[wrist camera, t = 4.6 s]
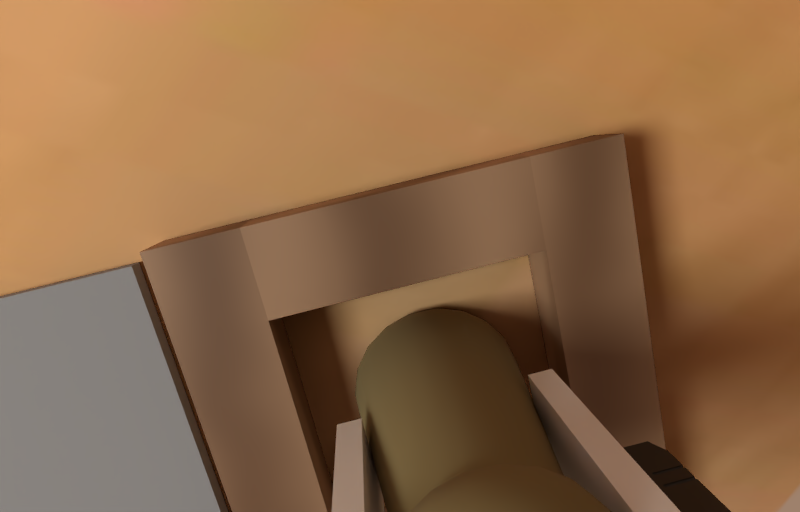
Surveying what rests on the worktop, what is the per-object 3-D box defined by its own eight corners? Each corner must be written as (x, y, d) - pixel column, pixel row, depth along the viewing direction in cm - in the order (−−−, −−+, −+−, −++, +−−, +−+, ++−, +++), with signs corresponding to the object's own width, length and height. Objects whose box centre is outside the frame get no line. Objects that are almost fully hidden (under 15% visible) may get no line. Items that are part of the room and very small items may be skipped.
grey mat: (139, 262, 17) (131, 265, 17) (252, 578, 20) (249, 591, 19) (-135, 329, 17) (-152, 336, 16) (21, 642, 20) (10, 657, 19)
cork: (415, 276, 18) (507, 469, 7) (550, 362, 19) (807, 640, 8) (322, 413, 19) (278, 775, 8) (457, 488, 20) (581, 894, 9)
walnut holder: (593, 135, 18) (623, 133, 16) (647, 502, 21) (677, 538, 19) (163, 240, 17) (139, 252, 15) (288, 602, 20) (281, 650, 18)
